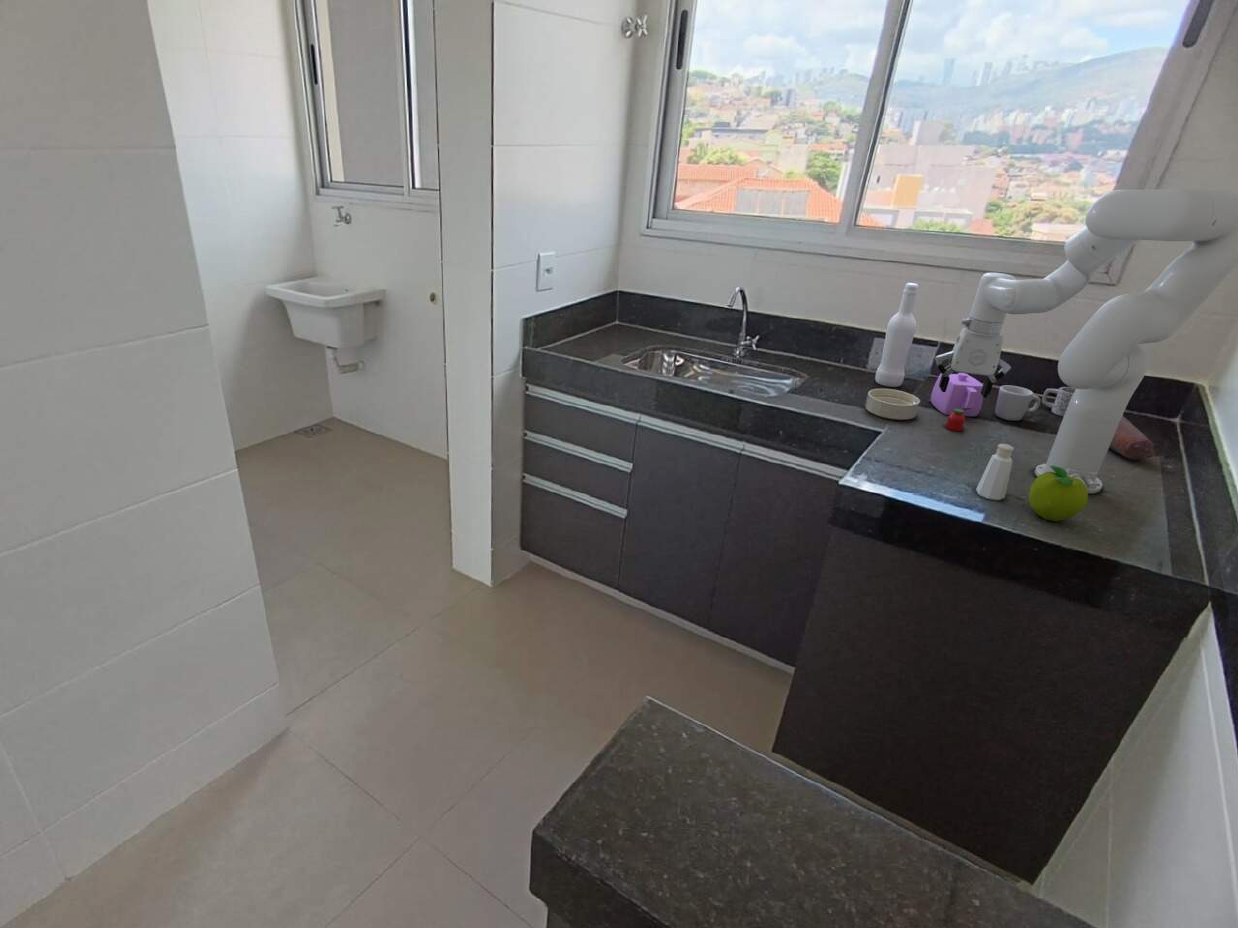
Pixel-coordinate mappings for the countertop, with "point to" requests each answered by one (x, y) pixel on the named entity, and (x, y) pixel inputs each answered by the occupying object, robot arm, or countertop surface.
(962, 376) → the teapot
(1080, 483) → the fruit
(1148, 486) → the countertop surface
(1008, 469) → the pepper shaker
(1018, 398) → the cup
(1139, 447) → the food
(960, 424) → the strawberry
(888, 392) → the bowl
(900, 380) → the bottle
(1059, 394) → the mug
